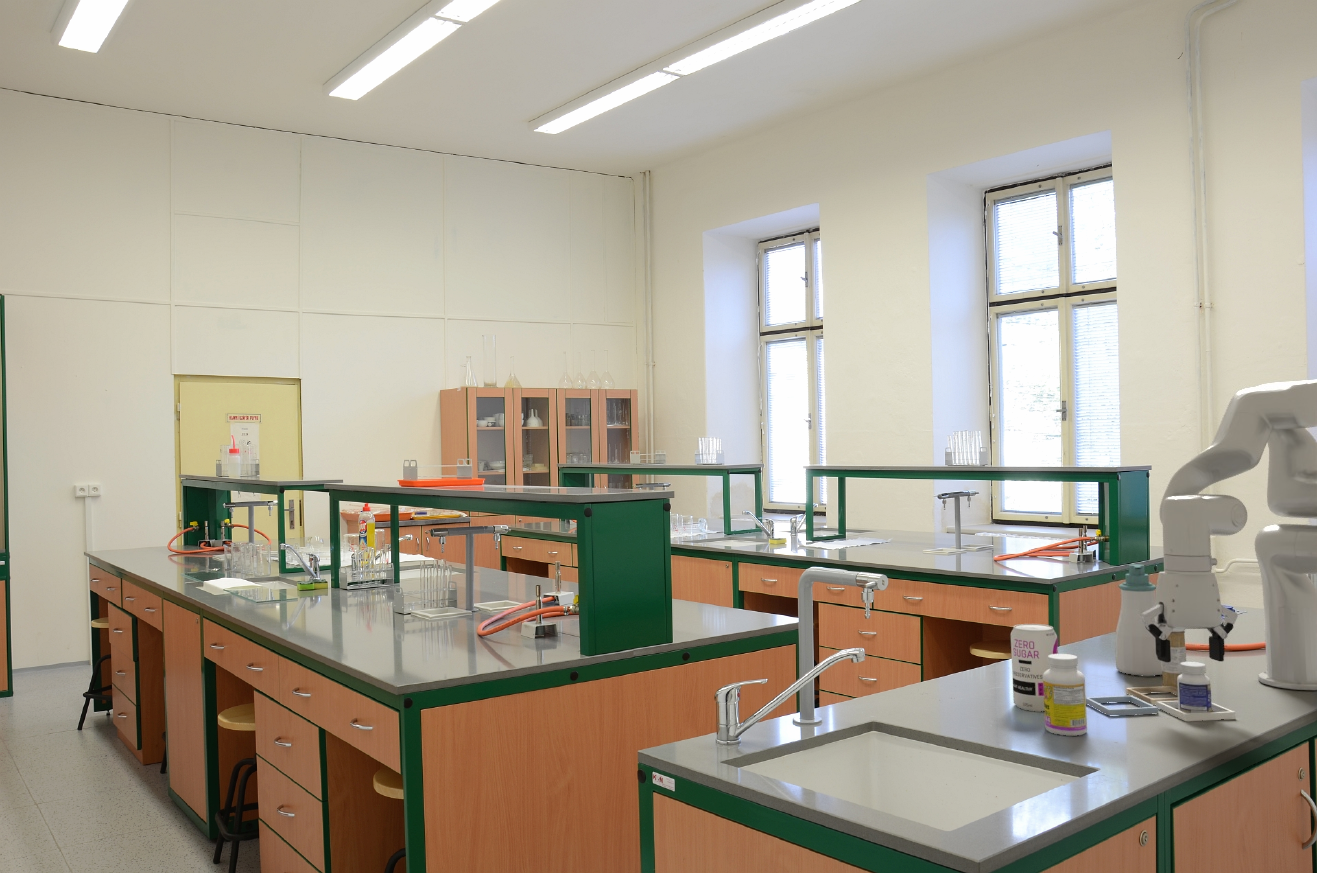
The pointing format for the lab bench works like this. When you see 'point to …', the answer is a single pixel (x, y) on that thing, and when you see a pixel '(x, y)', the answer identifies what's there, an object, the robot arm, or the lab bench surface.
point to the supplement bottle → (1064, 696)
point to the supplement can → (1031, 663)
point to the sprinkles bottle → (1174, 658)
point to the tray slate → (1125, 711)
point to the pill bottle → (1194, 688)
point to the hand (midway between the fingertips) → (1190, 660)
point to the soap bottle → (1136, 626)
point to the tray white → (1217, 715)
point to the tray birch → (1137, 691)
